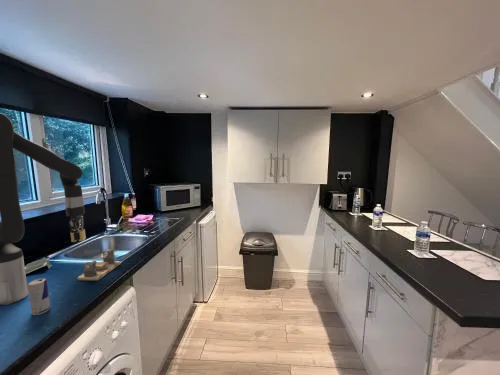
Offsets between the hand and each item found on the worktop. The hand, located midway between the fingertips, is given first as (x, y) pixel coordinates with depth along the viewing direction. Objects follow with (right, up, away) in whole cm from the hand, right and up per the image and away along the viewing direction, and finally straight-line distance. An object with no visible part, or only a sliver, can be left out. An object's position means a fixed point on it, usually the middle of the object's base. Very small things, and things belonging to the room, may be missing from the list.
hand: (78, 238), depth 121 cm
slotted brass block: (0, -1, 0) cm, 1 cm away
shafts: (+10, -12, +1) cm, 16 cm away
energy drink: (+8, -21, -30) cm, 38 cm away
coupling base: (+10, -17, +1) cm, 20 cm away
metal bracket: (-26, -18, +4) cm, 32 cm away
